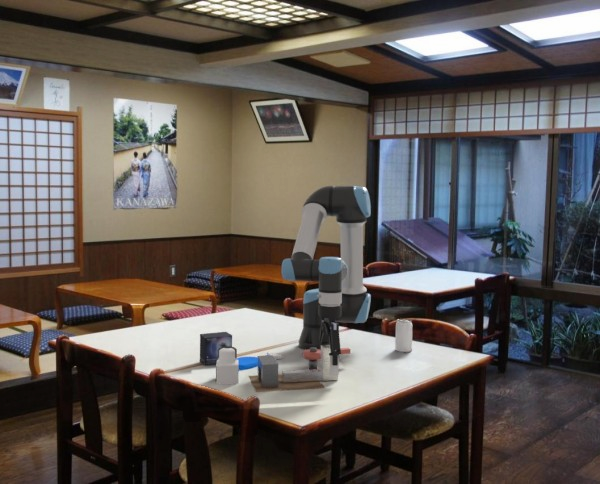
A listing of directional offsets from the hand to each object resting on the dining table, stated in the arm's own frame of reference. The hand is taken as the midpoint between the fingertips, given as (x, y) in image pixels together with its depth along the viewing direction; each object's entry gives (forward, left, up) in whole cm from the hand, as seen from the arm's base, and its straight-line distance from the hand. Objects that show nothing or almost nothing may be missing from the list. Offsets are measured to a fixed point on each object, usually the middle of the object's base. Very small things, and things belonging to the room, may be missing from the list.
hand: (329, 369), depth 226 cm
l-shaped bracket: (0, -6, -3) cm, 7 cm away
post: (-13, -2, -4) cm, 14 cm away
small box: (-32, -34, -5) cm, 47 cm away
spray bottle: (-28, -20, -5) cm, 35 cm away
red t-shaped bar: (-14, +3, +1) cm, 14 cm away
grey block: (0, -20, -3) cm, 21 cm away
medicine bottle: (-5, -33, -5) cm, 34 cm away
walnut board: (0, -14, -4) cm, 15 cm away
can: (-37, +40, -5) cm, 54 cm away
